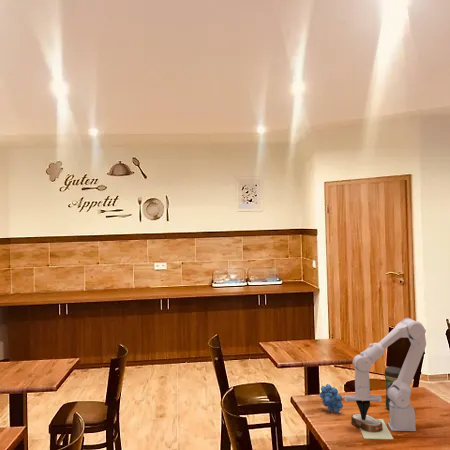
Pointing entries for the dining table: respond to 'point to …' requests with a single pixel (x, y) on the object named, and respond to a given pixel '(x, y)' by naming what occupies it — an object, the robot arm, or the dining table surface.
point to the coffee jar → (390, 380)
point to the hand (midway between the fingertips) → (363, 419)
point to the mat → (378, 433)
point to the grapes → (331, 398)
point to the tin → (367, 423)
